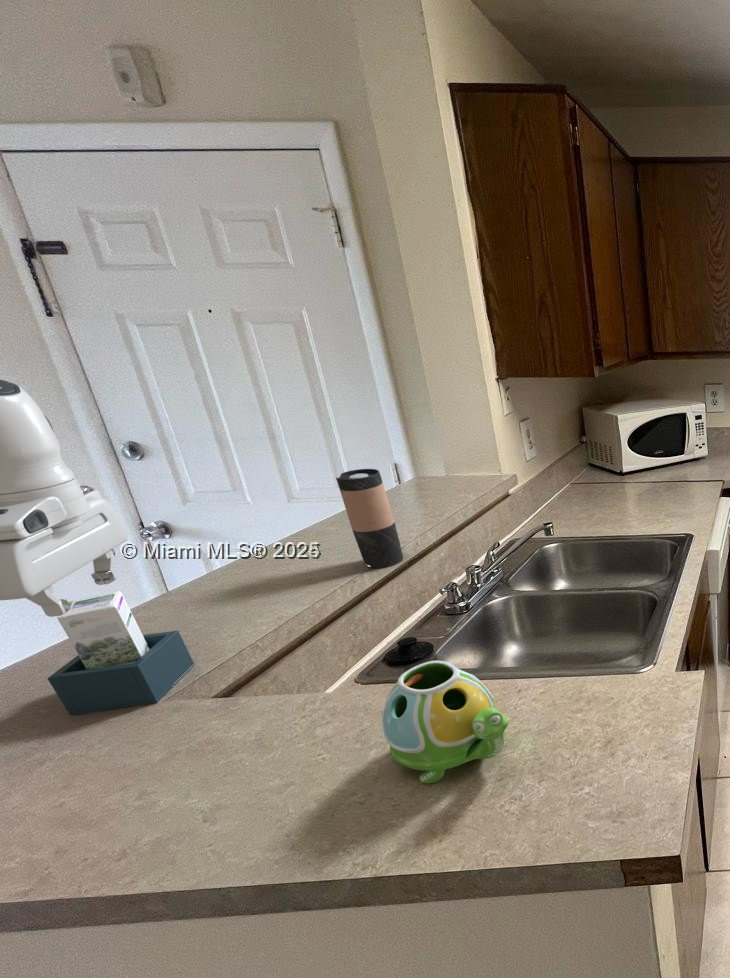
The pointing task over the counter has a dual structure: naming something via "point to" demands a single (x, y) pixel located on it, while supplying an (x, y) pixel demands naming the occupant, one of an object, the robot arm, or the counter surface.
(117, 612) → the syrup box
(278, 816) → the counter surface
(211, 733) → the counter surface
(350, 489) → the travel mug
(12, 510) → the robot arm
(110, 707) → the box
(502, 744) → the turtle holder
